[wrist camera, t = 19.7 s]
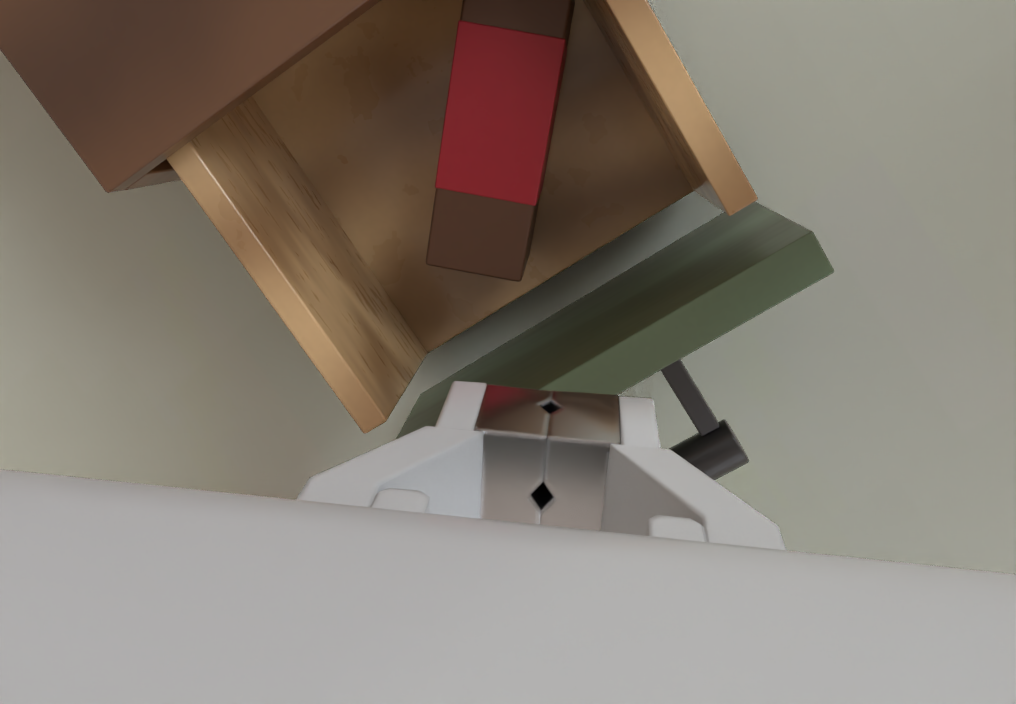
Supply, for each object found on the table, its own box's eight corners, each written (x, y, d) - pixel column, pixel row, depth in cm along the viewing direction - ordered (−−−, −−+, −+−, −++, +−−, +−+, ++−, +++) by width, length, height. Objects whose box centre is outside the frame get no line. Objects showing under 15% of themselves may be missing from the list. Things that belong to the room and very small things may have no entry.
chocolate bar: (446, 242, 27) (484, -18, 25) (530, 257, 27) (576, -1, 25) (422, 265, 23) (466, -42, 21) (521, 283, 23) (577, -23, 21)
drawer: (824, 333, 28) (913, 413, 21) (500, 510, 31) (477, 636, 24) (534, -182, 25) (517, -307, 17) (198, 74, 28) (58, 61, 20)
